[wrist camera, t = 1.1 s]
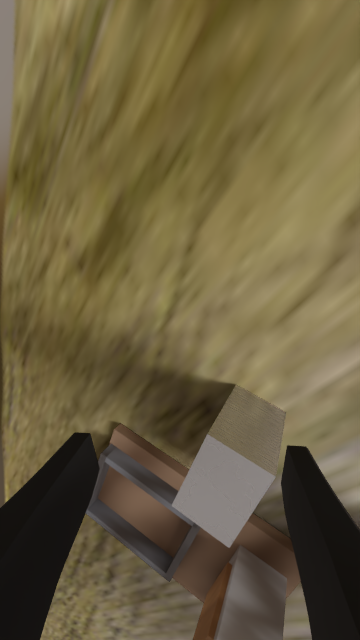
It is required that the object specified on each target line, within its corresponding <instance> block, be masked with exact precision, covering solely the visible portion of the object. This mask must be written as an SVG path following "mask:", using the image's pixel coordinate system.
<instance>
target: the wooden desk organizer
mask: <svg viewBox="0 0 360 640" xmlns="http://www.w3.org/2000/svg"><path fill="white" fill-rule="evenodd" d="M98 464H99V468H100V470H99V474H98V477H97V481H96V485H95V488H94V491H93V495H92V498H91V500H90V503H89V506H88V508H87V511H86V514H87V515H88V516H90V517H91V518H92V519H93V520H95V521H96V522H97V523H98V524H99V525H101V526H102V527H103V528H104V529H105V530H107V531H108V532H109V533H110V534H112V535H113V536H114V537H115V538H116V539H118V540H119V541H120V542H121V543H123V544H124V545H125V546H126V547H127V548H129V549H130V550H131V551H132V552H134V553H135V554H136V555H137V556H138V557H140V558H141V559H142V560H143V561H144V562H146V563H147V564H148V565H149V566H151V567H152V568H153V569H154V570H155V571H157V572H158V573H159V574H160V575H162V576H163V577H164V578H165V579H166V580H168V581H169V582H170V580H171V579H172V578H173V579H175V580H176V581H177V582H178V583H180V584H181V585H182V586H183V587H184V588H186V589H187V590H188V591H189V592H191V593H192V594H193V595H194V596H196V597H197V598H198V599H199V600H200V601H202V602H203V603H204V605H203V608H202V611H201V615H200V618H199V621H198V624H197V628H196V631H195V634H194V637H193V640H283V627H284V614H285V601H286V598H287V597H288V596H289V595H290V594H291V592H292V591H293V590H294V589H295V588H296V586H297V585H298V584H299V583H300V582H301V579H300V575H299V571H298V567H297V563H296V558H295V554H294V550H293V546H292V541H291V539H290V538H289V537H287V536H286V535H284V534H283V533H281V532H280V531H278V530H277V529H275V528H274V527H272V526H271V525H269V524H268V523H267V522H265V521H264V520H262V519H261V518H259V517H258V516H256V515H255V514H253V513H252V514H251V516H250V517H249V519H248V520H247V522H246V523H245V525H244V526H243V528H242V529H241V531H240V533H239V534H238V536H237V537H236V539H235V540H234V542H233V543H232V545H231V546H230V548H228V547H227V546H226V545H224V544H223V543H222V542H220V541H219V540H217V539H216V538H215V537H213V536H212V535H211V534H209V533H208V532H207V531H205V530H204V529H202V528H201V527H200V526H198V525H197V524H196V523H194V522H193V521H192V520H190V519H189V518H187V517H186V516H185V515H183V514H182V513H181V512H179V511H178V510H177V509H175V508H174V507H172V504H173V502H174V500H175V498H176V496H177V494H178V492H179V490H180V488H181V486H182V484H183V482H184V480H185V478H186V476H187V474H188V472H189V470H188V469H187V468H186V467H184V466H183V465H181V464H180V463H178V462H177V461H175V460H174V459H172V458H171V457H169V456H168V455H166V454H165V453H163V452H162V451H160V450H159V449H158V448H156V447H155V446H153V445H152V444H150V443H149V442H147V441H146V440H144V439H143V438H141V437H140V436H138V435H137V434H135V433H134V432H132V431H131V430H130V429H128V428H127V427H125V426H124V425H122V424H120V425H118V426H117V427H116V428H115V429H114V432H113V434H112V437H111V440H110V443H109V446H108V447H107V448H106V449H105V450H104V451H103V452H102V453H101V455H100V458H99V461H98Z"/></svg>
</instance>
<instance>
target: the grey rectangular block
mask: <svg viewBox="0 0 360 640" xmlns="http://www.w3.org/2000/svg"><path fill="white" fill-rule="evenodd" d="M285 417H286V412H285V411H283V410H281V409H280V408H278V407H276V406H274V405H272V404H271V403H269V402H267V401H265V400H263V399H262V398H260V397H258V396H256V395H254V394H253V393H251V392H249V391H247V390H245V389H244V388H242V387H240V386H238V385H236V386H235V387H234V389H233V391H232V393H231V394H230V396H229V398H228V399H227V401H226V403H225V405H224V406H223V408H222V410H221V411H220V413H219V415H218V417H217V418H216V420H215V422H214V423H213V425H212V427H211V429H210V430H209V432H208V434H207V436H206V438H205V440H204V442H203V444H202V446H201V448H200V450H199V452H198V454H197V456H196V458H195V460H194V462H193V464H192V466H191V468H190V470H189V472H188V474H187V476H186V478H185V480H184V482H183V484H182V486H181V488H180V490H179V492H178V494H177V496H176V498H175V500H174V502H173V504H172V507H174V508H175V509H177V510H178V511H179V512H181V513H182V514H183V515H185V516H186V517H187V518H189V519H190V520H192V521H193V522H194V523H196V524H197V525H198V526H200V527H201V528H202V529H204V530H205V531H207V532H208V533H209V534H211V535H212V536H213V537H215V538H216V539H217V540H219V541H220V542H222V543H223V544H224V545H226V546H227V547H228V548H230V546H231V545H232V543H233V542H234V540H235V539H236V537H237V536H238V534H239V533H240V531H241V529H242V528H243V526H244V525H245V523H246V522H247V520H248V519H249V517H250V516H251V514H252V513H253V511H254V510H255V508H256V506H257V505H258V503H259V502H260V500H261V499H262V497H263V496H264V494H265V493H266V491H267V490H268V488H269V487H270V485H271V483H272V482H273V480H274V479H275V477H276V472H277V466H278V460H279V454H280V448H281V442H282V435H283V429H284V423H285Z"/></svg>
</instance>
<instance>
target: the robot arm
mask: <svg viewBox="0 0 360 640" xmlns="http://www.w3.org/2000/svg"><path fill="white" fill-rule="evenodd" d="M99 470H100V468H99V464H98V460H97V457H96V453H95V449H94V446H93V442H92V438H91V435H90V433H74V434H73V435H72V436H71V437H70V438H69V439H68V440H67V441H66V442H65V443H64V444H63V445H62V446H61V448H60V449H59V450H58V451H57V452H56V453H55V454H54V455H53V456H52V457H51V458H50V459H49V460H48V461H47V462H46V463H45V465H44V466H43V467H42V468H41V469H40V470H39V471H38V472H37V473H36V474H35V475H34V476H33V477H32V478H31V479H30V480H29V481H28V482H27V483H26V484H25V485H24V486H23V487H22V488H21V489H20V490H19V491H18V492H17V493H16V494H15V495H14V496H13V497H11V498H10V499H9V500H8V501H7V502H6V503H5V504H4V505H3V506H2V507H1V508H0V640H40V637H41V634H42V631H43V627H44V624H45V621H46V618H47V614H48V611H49V608H50V605H51V602H52V599H53V596H54V593H55V589H56V586H57V583H58V580H59V578H60V575H61V572H62V570H63V567H64V564H65V562H66V560H67V557H68V555H69V552H70V550H71V547H72V545H73V542H74V540H75V538H76V535H77V533H78V530H79V528H80V525H81V523H82V520H83V518H84V515H85V513H86V511H87V508H88V506H89V503H90V500H91V498H92V495H93V491H94V488H95V485H96V481H97V477H98V474H99ZM281 486H282V494H283V501H284V508H285V515H286V520H287V524H288V529H289V533H290V537H291V541H292V546H293V550H294V554H295V558H296V563H297V567H298V571H299V575H300V579H301V584H302V588H303V592H304V596H305V601H306V606H307V611H308V616H309V622H310V629H311V635H312V640H360V529H359V528H358V527H357V525H356V524H355V522H354V521H353V520H352V518H351V517H350V515H349V514H348V512H347V511H346V509H345V508H344V506H343V505H342V503H341V502H340V500H339V499H338V497H337V496H336V494H335V493H334V491H333V490H332V488H331V487H330V485H329V483H328V482H327V480H326V479H325V477H324V475H323V474H322V472H321V470H320V469H319V467H318V465H317V464H316V462H315V460H314V458H313V457H312V455H311V453H310V451H309V449H308V448H307V447H304V446H287V450H286V456H285V462H284V468H283V474H282V480H281Z"/></svg>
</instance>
